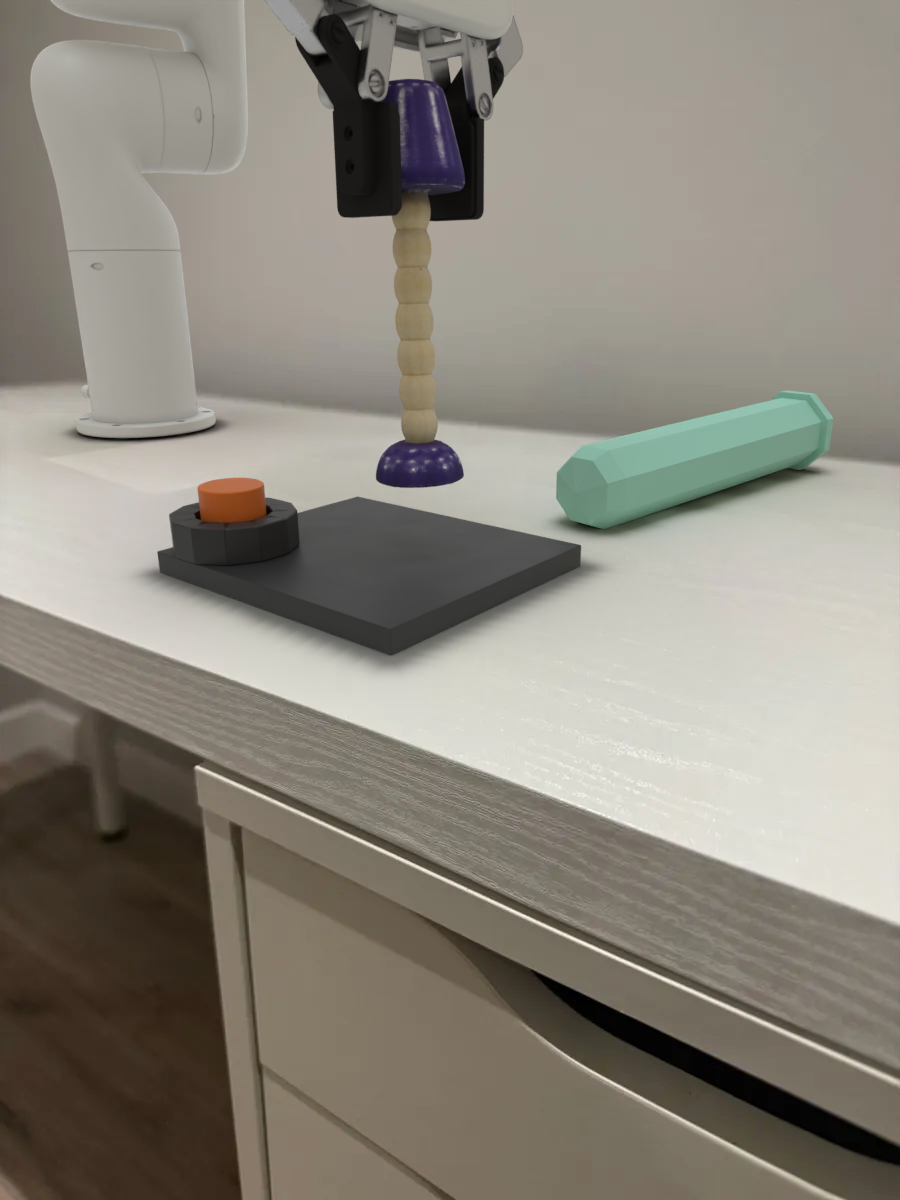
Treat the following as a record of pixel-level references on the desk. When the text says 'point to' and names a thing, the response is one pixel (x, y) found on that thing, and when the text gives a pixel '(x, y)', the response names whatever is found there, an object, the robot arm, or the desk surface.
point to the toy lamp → (419, 282)
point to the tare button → (232, 500)
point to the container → (691, 459)
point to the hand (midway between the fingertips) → (412, 213)
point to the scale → (363, 566)
